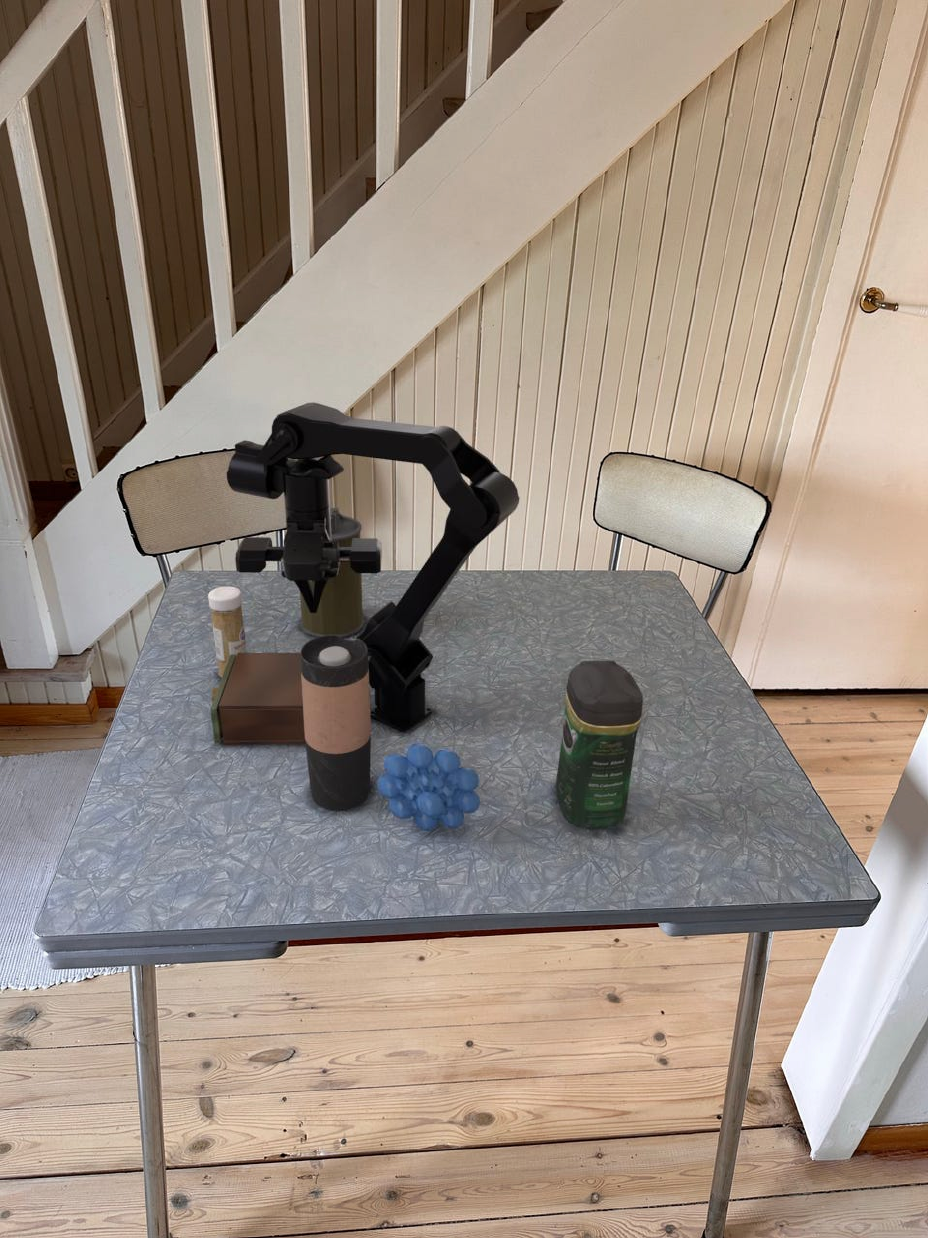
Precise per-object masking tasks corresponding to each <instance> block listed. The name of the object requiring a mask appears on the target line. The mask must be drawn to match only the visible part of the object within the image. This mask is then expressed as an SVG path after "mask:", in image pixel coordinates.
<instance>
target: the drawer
mask: <svg viewBox="0 0 928 1238" xmlns="http://www.w3.org/2000/svg"><path fill="white" fill-rule="evenodd" d="M235 659H236V654H231V655H230V657H229V660H228V662H227V665H226V668H225V671H224V673H223V676H222V678H220V682H219V684H218V687H213V688H212V691H211V701H212V703H211V706H210V709H209V711H210V717H211V718H210V719H211V724H212V725H211V726H212V731H213V732H212V733H213V740H214V744H221V743H222V741H223V734H222V727H221V719H220V711H219V704H220V701H221V698H222V695H223V693H224V690H225V687H226V684H227V681H228V679H229V676H230V673H231V670H232V667H233V664H234V662H235Z"/></svg>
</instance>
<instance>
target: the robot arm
mask: <svg viewBox="0 0 928 1238" xmlns="http://www.w3.org/2000/svg"><path fill="white" fill-rule="evenodd" d="M333 455H334V456H335V455H348V456H355V457H361V458H362V457H363V458H372V459H379V460H387V461H396V462H403V463H411V464H418V465H423V467H424V468H425V469H426V471H428V472H429V474H430V476H431V478H432V481H433V483H434V486H435V489H436V490H437V493H438V494H439V497H440V498H441V500H442V501H443V502H444V504H445V505H446V506H447V507H448V508H449V512H448V513H447V517H446V518H445V519H446V520H445V523H444V530H443V535H442V537H441V538H440V541H439V542H438V544H437V545H436V547H435V548H434V549H433V551H432V552H431V553H430V555H429V557H428V558H427V560H426V561H425V562H424V564H423V565H422V567H421V568H420V570H419V571H418V573H417V574H416V576H415V578H414V579H413V580H412V581H411V583H410V585H409V586H408V588H407V589H406V591H405V592H404V593H403V595H402V596H401V598H400V599H399V601H398V603H394V601H392V600H389V601H388V602H387V603H386V605H383V607H382V608H380V609H379V610H378V611H377V612H376V613H374V614H373V615H372V616H371V617H369V619H368V621H367V622H366V625H365V628H364V630H363V631H362V632H361V633H360V634H359V635H358V636H356V637H355V640H356V639H360V640H361V641H363V642H364V643H365V645H366V646H367V649H368V664H369V688H371V689H374V706H375V708H373V709H371V710H370V719H371V718H372V719H373V720H374V721H375V720H376V721H377V722H380V723H381V724H383V725H386V726H388V727H389V728H392V729H393V730H395V731H398V732H399V733H406V732H407V731H409V730H410V729H412V728H413V727H414V726H416V725H417V724H419V723H420V722H422V721H423V720H424V719H426V718H427V717H429V716H430V715H431V714H432V713H433V708H431V707H429V706H427V705H426V678H423V677H422V674H423V672H424V671H425V670H426V669H428V668H429V667H430V665H431V663H432V660H433V658H434V654H433V653H431V651H430V649H429V648H427V646H426V645H425V644H424V643H423V641H422V640H421V639H420V638H421V635H422V634H423V629H424V622H425V620H426V618H427V616H428V614H429V613H430V612H431V610H432V609H433V608H434V606H435V605H436V603H437V602H438V601H439V599H440V598H441V597H442V595H443V594H444V593H445V591H446V589H447V588H448V586H449V585H450V584H451V582H452V581H453V580H454V578H455V577H456V576H457V574H458V573H459V571H460V570H461V569H462V567H463V566H464V564H465V563H466V561H467V560H468V558H469V557H470V556H471V554H472V553H473V552H474V550H475V549H476V548H477V546H478V545H479V544H481V543H482V542H483V541H484V540H485V539H487V537H488V536H489V535H490V534H491V533H493V532H494V531H495V530H496V529H497V528H498V527H499V526H500V525H501V524H502V523H503V522H504V521H505V520H507V519H508V518H509V517H511V515H512V514H513V513H514V512H515V511H516V510H517V508H518V506H519V504H520V496H519V492H518V491H519V490H518V488H517V486H516V484H515V482H514V481H513V480H512V479H511V478H510V477H509V476H507V475H506V474H504V473H502V472H501V471H500V470H499V469H498V468H497V466H496V465H495V464H494V463H493V462H492V460H491V459H489V457H487V456H485V455H484V454H483V453H481V452H480V451H479V450H477V449H476V448H474V447H473V446H471V445H470V444H469V443H467V442H466V440H465V439H464V438H463V437H462V435H460V433H459V432H458V430H456V429H455V428H453V427H450V426H447V425H438V426H431V425H430V426H429V425H423V424H412V423H405V422H404V423H403V422H393V421H384V420H378V419H377V420H376V419H375V420H374V419H367V418H366V419H365V418H356V417H352V416H349V415H347V414H345V413H344V412H342V411H341V410H339V409H338V408H335V407H331V406H329V405H325V404H321V403H318V402H314V401H313V402H306V403H304V404H302V405H299V406H296V407H294V408H291V409H289V410H286V411H284V412H280V413H279V414H277V415H276V417H275V418H274V419H273V421H272V424H271V433H270V435H269V436H268V438H267V440H266V441H265V443H264V444H259V443H256V442H253V441H251V440H245V439H244V440H241V441H240V442H239V441H238V442H237V443H235V444H234V453H233V455H232V456H231V458H230V461H229V463H228V469H227V471H226V480H227V484H228V486H229V488H230V489H231V490H232V491H233V492H236V493H238V494H239V493H240V494H245V495H250V496H255V497H259V498H265V499H269V500H277V499H279V498H280V497H281V496H282V495H283V497H284V512H285V513H284V514H285V526H286V532H285V535H284V538H283V546H273V540H272V538H271V537H270V536H269V537H267V536H266V537H264V536H262V537H261V536H260V537H258V536H257V537H256V536H245V537H244V538H243V539H242V540H241V541H240V543H239V545H238V548H237V550H236V552H235V556H234V557H235V558H234V559H235V560H234V561H235V569H236V570H235V571H236V572H238V573H241V574H243V573H244V574H247V573H249V574H251V573H252V574H260V573H262V572H263V571H264V569H266V567H267V562H280V563H281V564H280V565H281V566H282V570H281V573H280V575H281V577H282V578H285V579H286V580H287V581H289V582H293V583H295V585H296V587H297V588H298V590H299V593H300V592H301V594H302V596H303V598H304V600H305V602H306V604H307V607H308V609H309V611H310V613H317V609H318V606H319V603H320V599H321V596H322V592H323V589H324V587H325V585H326V583H327V581H328V580H329V578H335V577H337V576H338V570H339V565H340V562H350V568H351V569H352V570H353V571H355V572H356V573H361V574H379V573H381V572H382V562H383V561H382V559H383V545H382V544H383V543H382V542H381V540H380V539H378V538H377V537H376V538H375V537H374V538H371V537H370V538H369V537H368V538H367V537H366V538H365V537H364V538H363V537H360V538H352V545H351V547H339V544H338V541H332V538H331V516H330V508H331V499H330V497H331V495H330V494H331V493H330V480H331V479H333V478H334V477H336V476H338V475H340V474H341V473H344V470H345V468H344V467H343V465H341V463H340V462H338V461H336V459H335V458H333ZM463 476H464V477H465V478H467V479H469V481H470V482H471V483H470V484H468V482H467V481H466V479H464V477H463ZM312 581H315V584H314V595H313V588H312Z"/></svg>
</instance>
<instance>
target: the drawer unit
mask: <svg viewBox="0 0 928 1238" xmlns="http://www.w3.org/2000/svg"><path fill="white" fill-rule="evenodd" d="M219 711H220V719H221V727H222V734H223V738H222V741H223V745H224V746H226V745H227V746H228V745H229V746H230V745H231V746H232V745H233V746H234V745H238V746H239V745H241V746H243V745H306V743H305V731H304V713H303V696H302V679H301V661H300V652H247V653H237V656H236V659H235V662H234V664H233V667H232V670H231V673H230V676H229V679H228V681H227V684H226V687H225V690H224V693H223V695H222V698H221V701H220V704H219Z"/></svg>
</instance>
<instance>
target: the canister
mask: <svg viewBox="0 0 928 1238" xmlns="http://www.w3.org/2000/svg"><path fill="white" fill-rule="evenodd" d="M330 516H331V538H332V541H338V544H339V547H351V545H352V538H361V531H362V530H363V529H362V526H363V525H362V523H361V522H360V521H359V520H358V519H356V518H355V517H350V516H347V515H344V514H342V513H340V509H339V507H330ZM362 574H363V573H356V572H355V571H353V570H352V569H351V568H350V562H340V565H339V570H338V576H337V577H335V578H329V580H328V581H327V583H326V585H325V587H324V589H323V592H322V596H321V599H320V603H319V606H318V609H317V613H310V611H309V609H308V607H307V604H306V602H305V600H304V598H303V596H302V594H301V592H300V591H299V599H300V600H299V601H300V616H301V620H300V627H301V630H302V631H304V632H305V633H306V634H307V635H309V636H312V637H315V638H317V637H320V636H325V635H333V634H335V635H338V636H340V637H341V638H343V639H344V638H346V637H349V636H352V635H353V634H356V633H358V632H359V631H360V630H362V628H363V627H364V624H365V618H364V615H363V614H364V613H363V579H362V578H363V577H362ZM314 584H315V581H312V588H313V595H314Z"/></svg>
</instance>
